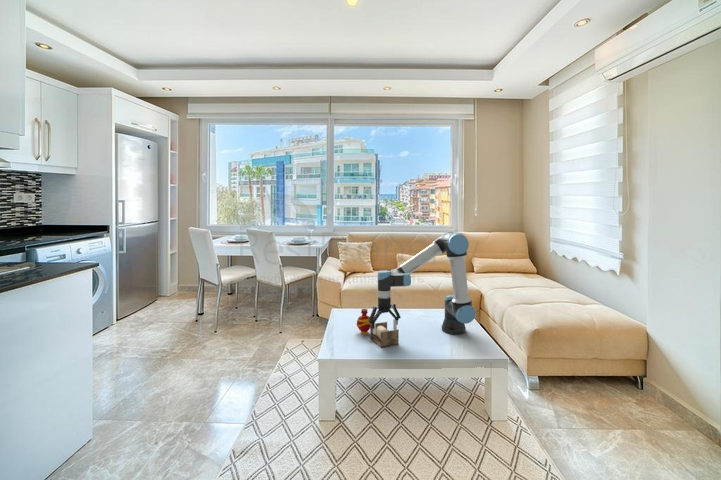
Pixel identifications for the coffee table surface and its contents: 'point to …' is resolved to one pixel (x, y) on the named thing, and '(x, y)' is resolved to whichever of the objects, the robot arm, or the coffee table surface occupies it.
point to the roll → (379, 330)
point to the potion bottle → (363, 322)
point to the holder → (385, 336)
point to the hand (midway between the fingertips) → (384, 332)
